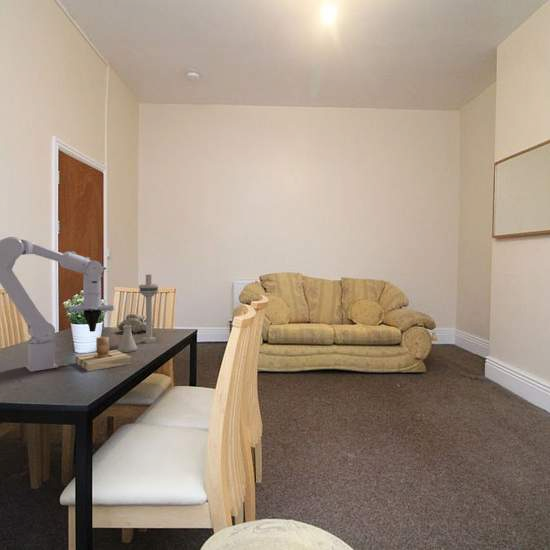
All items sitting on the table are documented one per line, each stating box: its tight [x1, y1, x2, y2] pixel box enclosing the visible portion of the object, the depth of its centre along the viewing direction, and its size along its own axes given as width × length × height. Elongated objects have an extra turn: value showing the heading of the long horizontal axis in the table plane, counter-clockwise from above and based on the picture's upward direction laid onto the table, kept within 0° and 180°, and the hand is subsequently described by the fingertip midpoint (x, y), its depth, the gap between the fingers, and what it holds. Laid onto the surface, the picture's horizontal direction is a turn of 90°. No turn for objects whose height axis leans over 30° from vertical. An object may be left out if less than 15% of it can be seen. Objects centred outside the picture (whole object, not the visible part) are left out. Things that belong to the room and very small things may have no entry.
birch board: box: [75, 349, 132, 372], centre depth 132 cm, size 14×14×2 cm
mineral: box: [117, 313, 154, 334], centre depth 194 cm, size 12×17×10 cm
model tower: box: [138, 274, 160, 344], centre depth 169 cm, size 8×8×30 cm
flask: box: [117, 325, 138, 353], centre depth 151 cm, size 7×7×10 cm
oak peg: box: [95, 336, 110, 359], centre depth 131 cm, size 4×4×9 cm
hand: (92, 331), depth 137 cm, fingers closed
